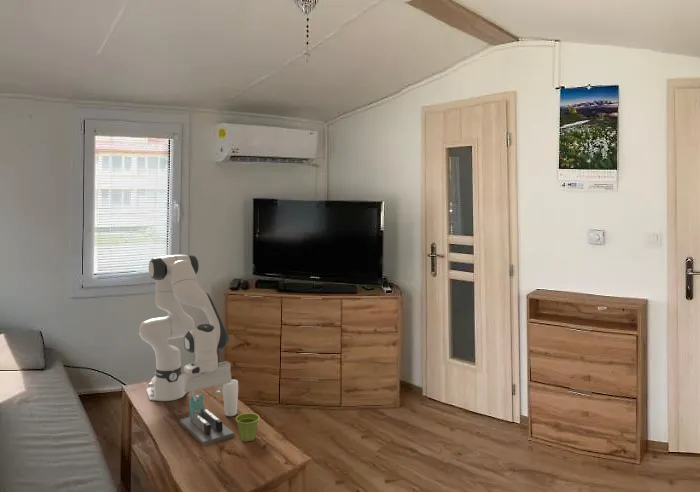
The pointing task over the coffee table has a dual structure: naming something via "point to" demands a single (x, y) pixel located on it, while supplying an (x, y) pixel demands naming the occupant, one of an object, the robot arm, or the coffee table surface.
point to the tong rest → (201, 435)
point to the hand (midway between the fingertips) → (207, 397)
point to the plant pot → (247, 426)
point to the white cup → (230, 397)
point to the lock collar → (196, 405)
